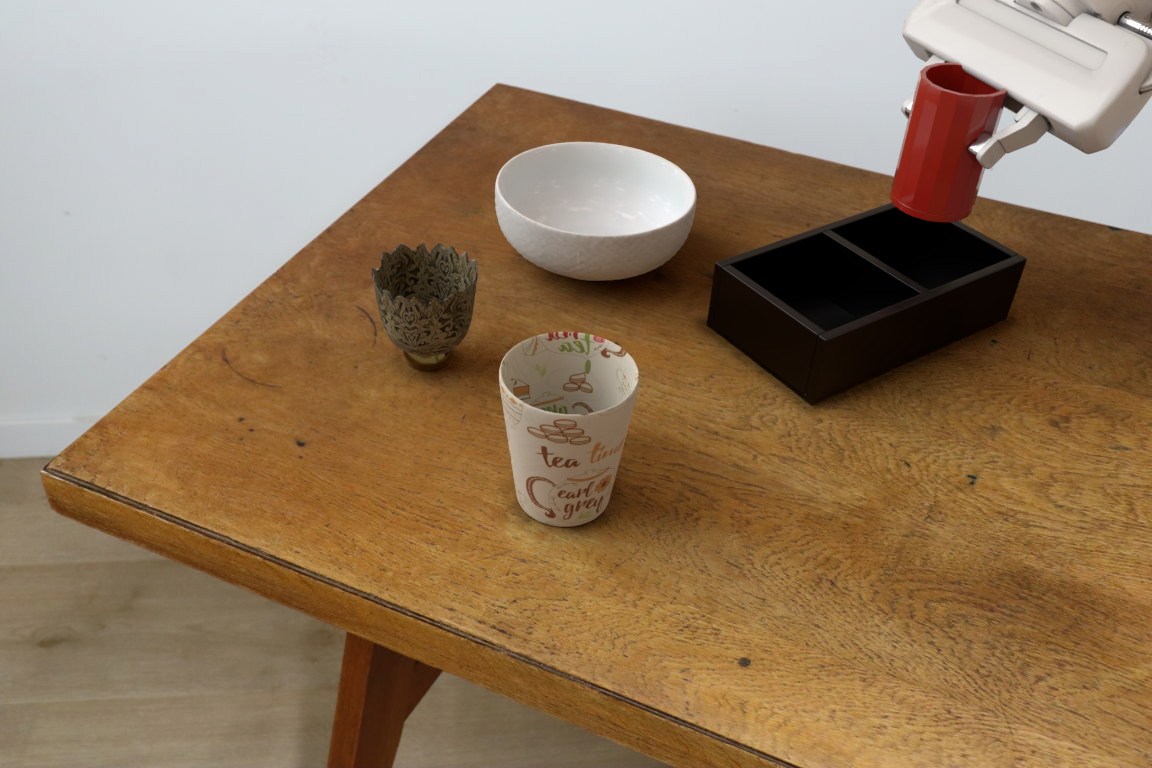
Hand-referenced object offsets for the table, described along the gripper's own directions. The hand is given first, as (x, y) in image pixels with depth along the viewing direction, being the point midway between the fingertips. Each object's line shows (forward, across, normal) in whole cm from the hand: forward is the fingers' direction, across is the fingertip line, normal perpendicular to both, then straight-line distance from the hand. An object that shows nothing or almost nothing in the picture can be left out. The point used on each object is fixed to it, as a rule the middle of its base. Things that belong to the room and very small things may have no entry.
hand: (941, 138), depth 82 cm
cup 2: (+3, 0, -4) cm, 5 cm away
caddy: (+14, -1, -7) cm, 16 cm away
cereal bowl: (+25, +16, +4) cm, 30 cm away
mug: (+34, -9, +13) cm, 38 cm away
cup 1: (+38, +7, +16) cm, 42 cm away
